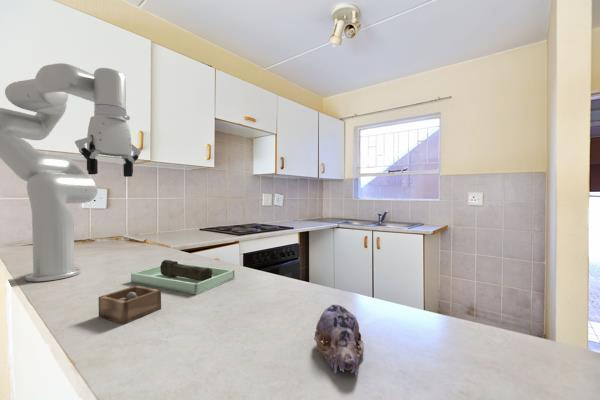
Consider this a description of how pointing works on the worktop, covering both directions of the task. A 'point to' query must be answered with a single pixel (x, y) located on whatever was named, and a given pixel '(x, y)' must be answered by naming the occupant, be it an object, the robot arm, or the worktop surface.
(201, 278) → the dark brown tapered bar
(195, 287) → the tray
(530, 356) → the worktop surface
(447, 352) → the worktop surface
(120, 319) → the gravel box
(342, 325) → the skull
